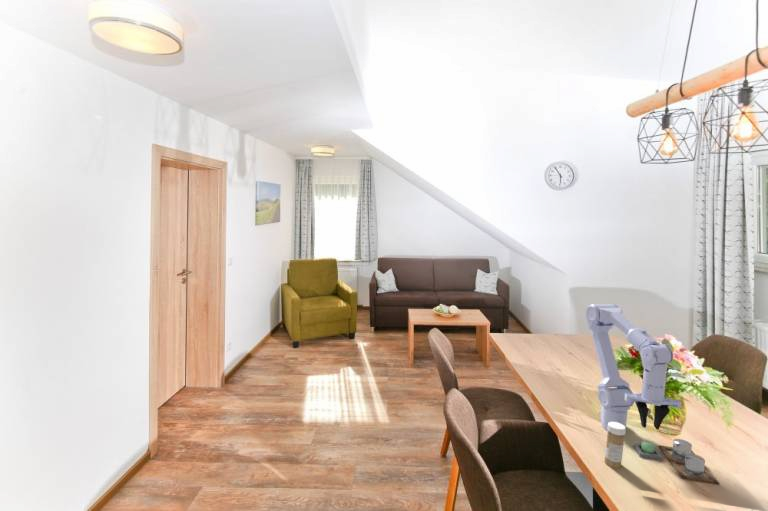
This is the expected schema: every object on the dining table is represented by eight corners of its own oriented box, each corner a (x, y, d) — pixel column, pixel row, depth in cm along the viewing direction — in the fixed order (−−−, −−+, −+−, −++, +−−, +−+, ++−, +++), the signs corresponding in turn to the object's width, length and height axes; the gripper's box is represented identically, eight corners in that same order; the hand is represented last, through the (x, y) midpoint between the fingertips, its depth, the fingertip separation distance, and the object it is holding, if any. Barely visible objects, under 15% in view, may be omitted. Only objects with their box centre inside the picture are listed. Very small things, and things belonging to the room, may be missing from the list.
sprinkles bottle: (605, 461, 124) (609, 419, 123) (622, 468, 121) (627, 424, 120) (601, 468, 121) (606, 425, 119) (619, 475, 118) (624, 431, 116)
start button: (639, 448, 129) (640, 439, 129) (651, 450, 128) (652, 441, 128) (643, 455, 126) (643, 445, 125) (655, 456, 125) (656, 447, 125)
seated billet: (669, 456, 128) (670, 437, 127) (685, 458, 127) (687, 440, 126) (675, 464, 124) (677, 445, 123) (692, 467, 123) (694, 448, 122)
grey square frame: (632, 450, 131) (633, 443, 130) (654, 453, 129) (655, 446, 129) (639, 461, 125) (639, 453, 125) (661, 464, 123) (662, 456, 123)
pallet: (658, 451, 131) (658, 445, 131) (690, 456, 128) (691, 449, 128) (681, 483, 115) (681, 476, 115) (718, 489, 113) (719, 483, 112)
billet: (685, 480, 116) (687, 460, 116) (681, 471, 120) (683, 451, 120) (705, 484, 115) (707, 464, 114) (700, 475, 119) (702, 456, 118)
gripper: (631, 385, 123) (627, 429, 124) (687, 392, 119) (682, 437, 120) (624, 377, 130) (620, 418, 131) (677, 383, 126) (672, 425, 127)
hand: (649, 426), depth 126 cm, fingers open, 3 cm apart
